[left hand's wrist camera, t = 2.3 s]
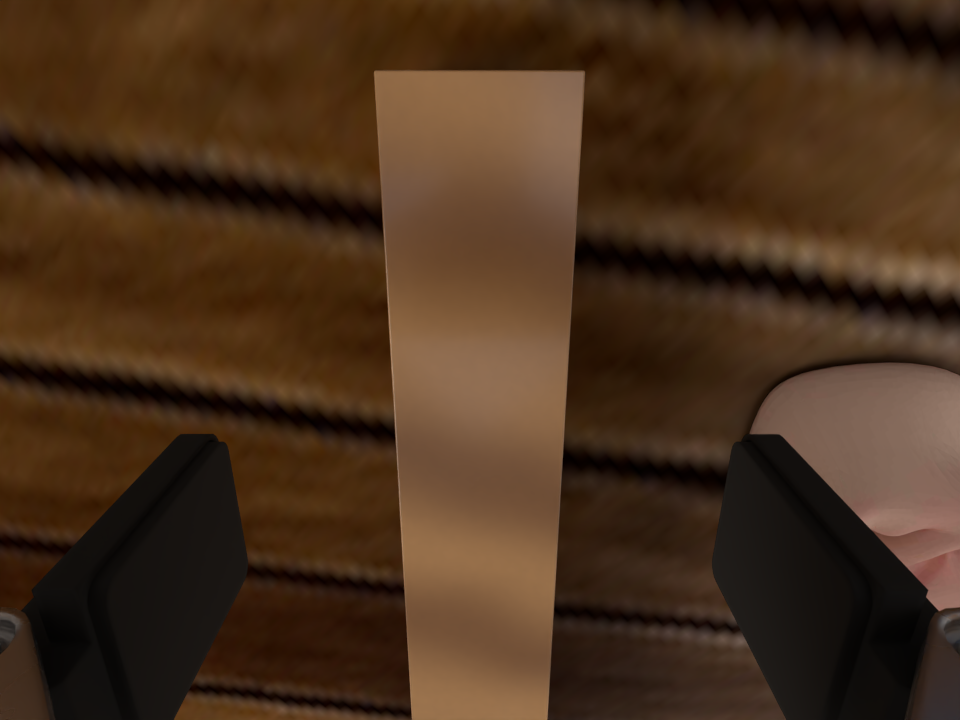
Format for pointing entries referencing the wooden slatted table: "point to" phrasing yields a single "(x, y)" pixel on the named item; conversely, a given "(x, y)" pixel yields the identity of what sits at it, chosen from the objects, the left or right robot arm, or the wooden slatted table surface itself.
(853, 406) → the anatomical model
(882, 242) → the wooden slatted table surface
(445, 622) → the bar
